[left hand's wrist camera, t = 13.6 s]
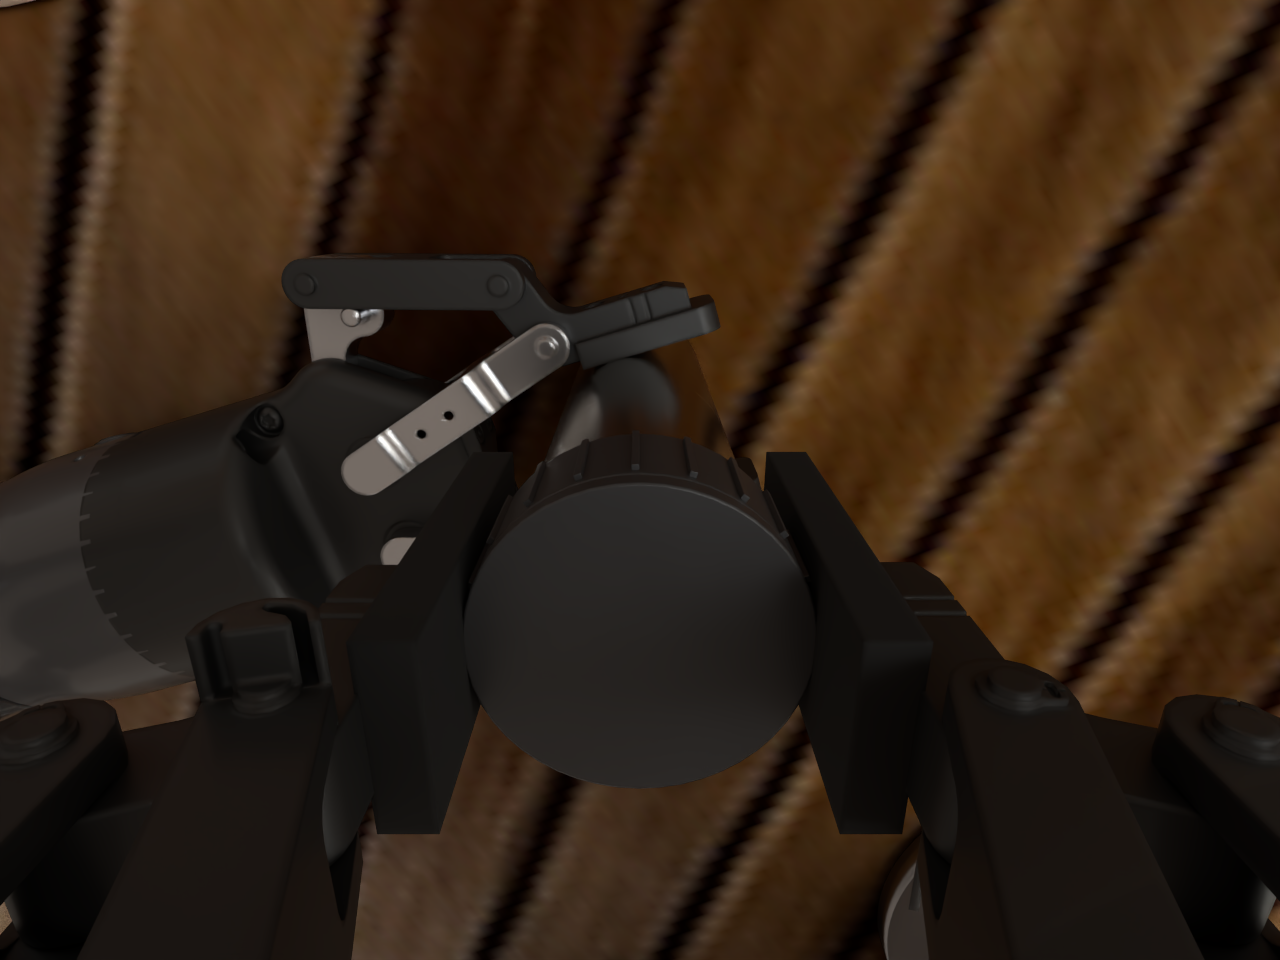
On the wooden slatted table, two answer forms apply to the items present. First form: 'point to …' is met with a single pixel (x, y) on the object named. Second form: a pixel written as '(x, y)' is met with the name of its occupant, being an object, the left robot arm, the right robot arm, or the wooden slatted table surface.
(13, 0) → the anatomical model
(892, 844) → the wooden slatted table surface
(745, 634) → the lid
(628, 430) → the dark brown cylindrical piece
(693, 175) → the wooden slatted table surface
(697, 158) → the wooden slatted table surface
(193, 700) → the wooden slatted table surface
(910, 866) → the left robot arm
